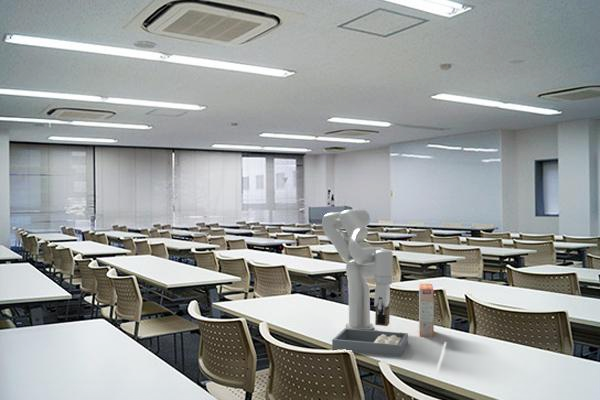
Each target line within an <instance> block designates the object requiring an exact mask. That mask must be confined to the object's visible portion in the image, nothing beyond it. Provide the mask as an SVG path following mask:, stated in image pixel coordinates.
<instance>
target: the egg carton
mask: <svg viewBox="0 0 600 400" xmlns="http://www.w3.org/2000/svg"><path fill="white" fill-rule="evenodd" d="M400 341H401V338H399V337H397V336H395V335H392V336H391V337H387V336H386V335H384V334H382V335H381V336H378V337H377V339H376V340H375V341H374V343H385V344H396V345H398V344H399V343H400Z"/></svg>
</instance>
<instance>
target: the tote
mask: <svg viewBox="0 0 600 400" xmlns="http://www.w3.org/2000/svg"><path fill="white" fill-rule="evenodd" d="M382 334H384V335H386V336H387V337H391V336H392V335H395V336H397V337H399V338H401V341H400V343H399V344H398V345H396V344H385V343H374V341H375V340H376V339H377V337H378V336H381V335H382ZM331 342H332V344H331V345H332V346H331V347H332V348H331V349H332V351H334V350H337V349H346V350H352V351H353V352H352V353H358V354H359V353H360V354H368V355H369V354H370V355H379V356H380V355H381V356H388V357H391V356H392V357H399V358H402V355H403V353H404V352H405V349H406V348H407V346H408V344H409V333H406V332H396V331H395V332H394V331H383V330H382V331H381V330H372V329H371V330H358V329H347V328H344V329H342V330H341V331H340V332H339V333H337V334H336V336H335V337H333V338H332V341H331Z"/></svg>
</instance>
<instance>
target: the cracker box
mask: <svg viewBox="0 0 600 400" xmlns="http://www.w3.org/2000/svg"><path fill="white" fill-rule="evenodd" d="M418 284H419V285H418V298H419V299H418V301H419V302H418V306H419V308H418V312H419V313H418V324H419V325H418V330H419V337H420V338H431V339H433V338H434V331H435V329H434V327H435V326H434V325H435V324H434V323H435V321H434V319H435V317H434V307H435V305H434V303H435V302H434V300H435V299H434V298H435V296H434V295H435V293H434V292H435V291H434V289H435V288H434V287H433V284H432V283H418Z"/></svg>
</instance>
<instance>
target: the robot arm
mask: <svg viewBox="0 0 600 400" xmlns="http://www.w3.org/2000/svg"><path fill="white" fill-rule="evenodd" d="M321 220H322V221H321V225H322V230H323V233H324V235H325V236H326V239H328V240H329V241H330V243H331V244H332V245H333V246H334V248H335V251H337V253H338V255H339V257H340V258H341V259H342V261H343V262H344V263H346V266H345V271H346V277H347V283H348V287H347V288H348V323H346V324H345V329H358V330H371V331H372V330H373V329H374V324H373V323H371V307H370V306H371V305H370V304H371V301H370V298H371V297H370V295H371V294H370V293H371V292H370V287H369V284H368V283H367V282H366V280H367V279H373V282H374V284H375V286H374V287H375V289H374V307H375V308H376V307H377V306H378V313H377V323H378V324H385V315H384V314H385V307H389V304H390V299H391V296H390V295H391V289H390V287H391V285H393V263H394V260H393V259H394V258H393V257H394V256H393V255H394V254H393V251H392V250H390V249H385V248H383V247H381V246H372V244H370V243H368V242H367V241H366V242H365V241H364V240H365V239H367V237H368V233H369V232H368V231H369V230H368V228H367V226H369V225H370V223H371V218H370V213H368V211H367V210H366V209H360V208H359V209H346V210H343V211H336V212H335V211H334V212H328V213H326V214H325V215H323V217H322V219H321ZM343 230H345V231H346V232H345V231H343ZM382 306H383V307H382ZM382 309H383V310H382Z"/></svg>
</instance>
